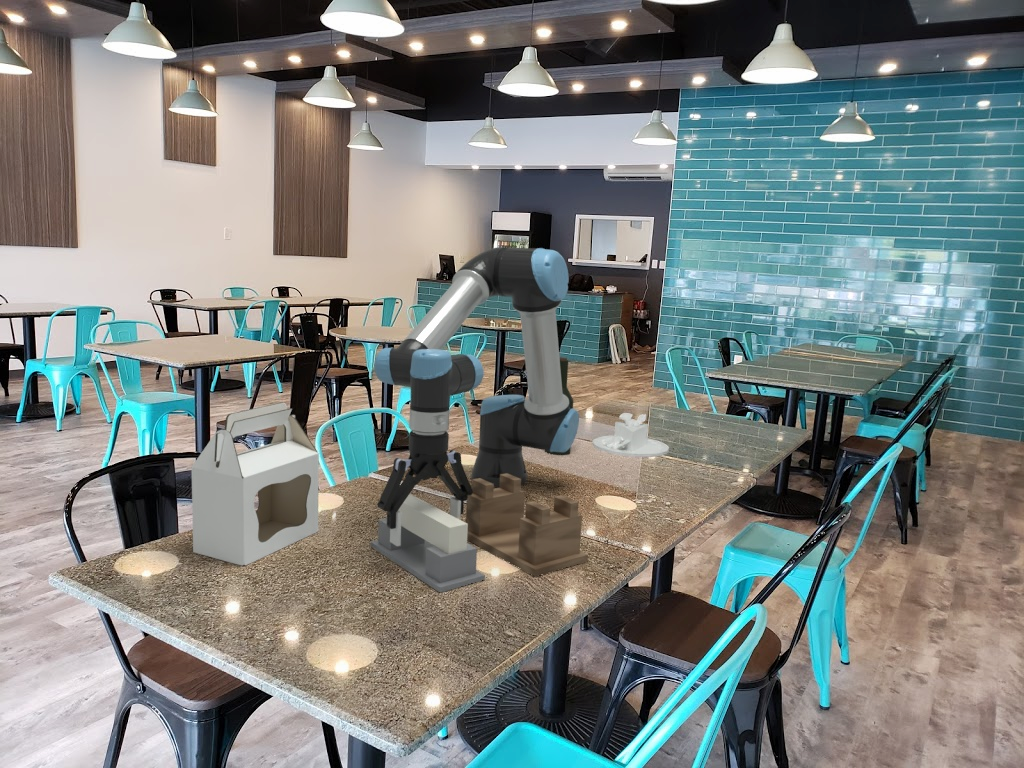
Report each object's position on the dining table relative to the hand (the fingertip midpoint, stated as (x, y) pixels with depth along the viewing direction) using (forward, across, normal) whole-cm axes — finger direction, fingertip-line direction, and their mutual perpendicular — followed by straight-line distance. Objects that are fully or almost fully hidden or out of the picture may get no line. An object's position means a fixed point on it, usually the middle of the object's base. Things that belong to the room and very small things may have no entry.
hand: (425, 537), depth 149 cm
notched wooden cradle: (+5, +21, -4) cm, 22 cm away
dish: (+6, +108, +45) cm, 117 cm away
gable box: (+6, -23, +27) cm, 36 cm away
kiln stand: (+5, 0, 0) cm, 5 cm away
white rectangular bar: (-1, 0, 0) cm, 1 cm away
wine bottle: (+5, +82, +52) cm, 97 cm away
